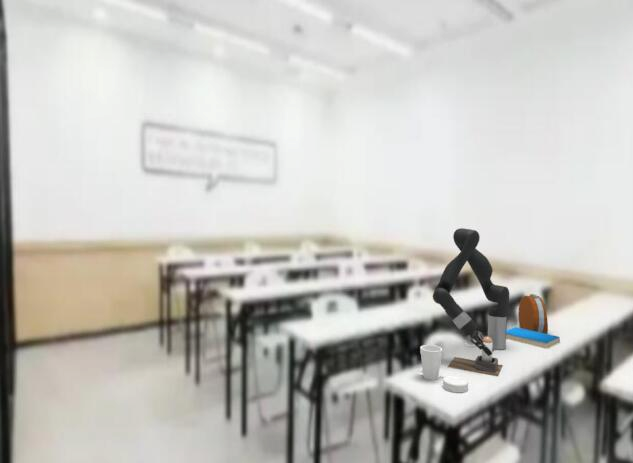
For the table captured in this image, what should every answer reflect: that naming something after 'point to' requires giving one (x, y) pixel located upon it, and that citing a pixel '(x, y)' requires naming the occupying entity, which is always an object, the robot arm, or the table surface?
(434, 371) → the foam cup
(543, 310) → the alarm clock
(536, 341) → the book
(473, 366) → the jig board
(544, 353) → the table surface
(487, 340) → the orange-capped post
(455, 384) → the coaster
